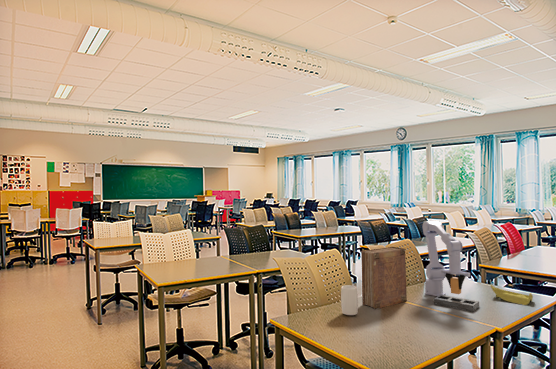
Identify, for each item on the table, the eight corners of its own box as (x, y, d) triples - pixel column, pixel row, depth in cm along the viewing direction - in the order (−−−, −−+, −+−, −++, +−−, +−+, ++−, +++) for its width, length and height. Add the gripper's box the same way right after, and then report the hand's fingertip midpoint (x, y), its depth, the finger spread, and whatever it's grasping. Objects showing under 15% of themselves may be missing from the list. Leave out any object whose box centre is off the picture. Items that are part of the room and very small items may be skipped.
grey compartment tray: (434, 303, 201) (433, 298, 201) (440, 299, 208) (440, 294, 208) (473, 311, 187) (473, 305, 187) (479, 307, 194) (479, 301, 194)
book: (374, 309, 194) (372, 253, 195) (362, 305, 202) (360, 251, 203) (406, 301, 207) (405, 248, 208) (394, 297, 215) (392, 246, 216)
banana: (533, 296, 203) (530, 292, 196) (531, 309, 201) (528, 306, 194) (493, 288, 217) (489, 283, 210) (491, 300, 215) (487, 296, 208)
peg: (450, 293, 198) (450, 278, 198) (453, 291, 201) (453, 276, 201) (458, 294, 195) (458, 279, 195) (461, 292, 198) (460, 278, 198)
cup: (358, 318, 182) (357, 289, 182) (341, 317, 183) (340, 289, 184) (358, 312, 190) (357, 285, 190) (341, 311, 192) (341, 284, 192)
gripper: (438, 262, 200) (439, 287, 200) (466, 266, 190) (467, 292, 190) (443, 260, 205) (444, 285, 205) (471, 263, 195) (472, 289, 195)
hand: (455, 288), depth 198 cm, fingers closed on peg, 4 cm apart
